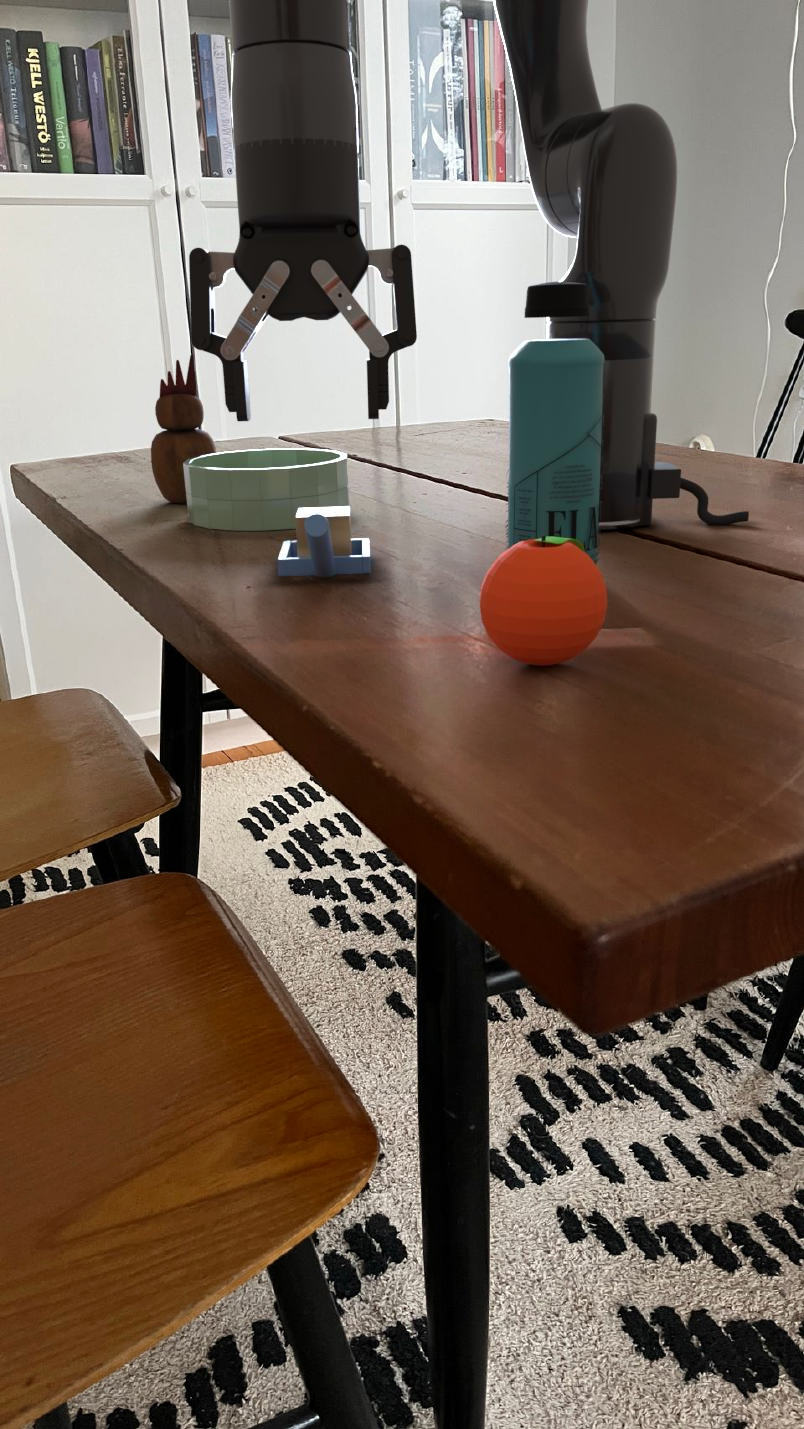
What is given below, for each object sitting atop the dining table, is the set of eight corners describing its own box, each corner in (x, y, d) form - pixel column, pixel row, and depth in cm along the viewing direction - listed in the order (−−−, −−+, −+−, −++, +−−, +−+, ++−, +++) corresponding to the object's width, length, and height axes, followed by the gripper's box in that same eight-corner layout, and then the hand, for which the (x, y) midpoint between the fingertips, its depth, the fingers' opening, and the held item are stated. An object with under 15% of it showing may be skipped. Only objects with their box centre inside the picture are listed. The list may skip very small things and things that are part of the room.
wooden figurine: (225, 496, 117) (213, 353, 111) (211, 505, 111) (197, 355, 106) (166, 497, 117) (150, 355, 112) (149, 506, 112) (132, 357, 107)
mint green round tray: (350, 505, 109) (347, 446, 107) (348, 534, 95) (345, 466, 92) (202, 510, 109) (196, 451, 106) (178, 540, 94) (171, 472, 92)
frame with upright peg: (285, 563, 84) (279, 481, 82) (370, 560, 84) (367, 478, 82) (269, 615, 70) (262, 517, 67) (372, 611, 70) (368, 514, 68)
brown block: (352, 557, 83) (350, 506, 81) (352, 568, 79) (349, 515, 78) (301, 559, 83) (298, 508, 81) (298, 570, 79) (295, 517, 78)
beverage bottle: (539, 605, 70) (545, 280, 63) (486, 585, 75) (486, 284, 68) (618, 592, 73) (632, 278, 66) (561, 574, 78) (569, 283, 71)
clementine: (533, 633, 64) (535, 516, 61) (636, 653, 60) (643, 528, 57) (454, 667, 58) (452, 539, 56) (562, 691, 54) (566, 554, 52)
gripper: (166, 134, 60) (192, 427, 66) (416, 130, 61) (419, 422, 66) (187, 153, 67) (208, 417, 73) (411, 150, 68) (414, 412, 73)
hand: (309, 419), depth 70 cm, fingers open, 8 cm apart
